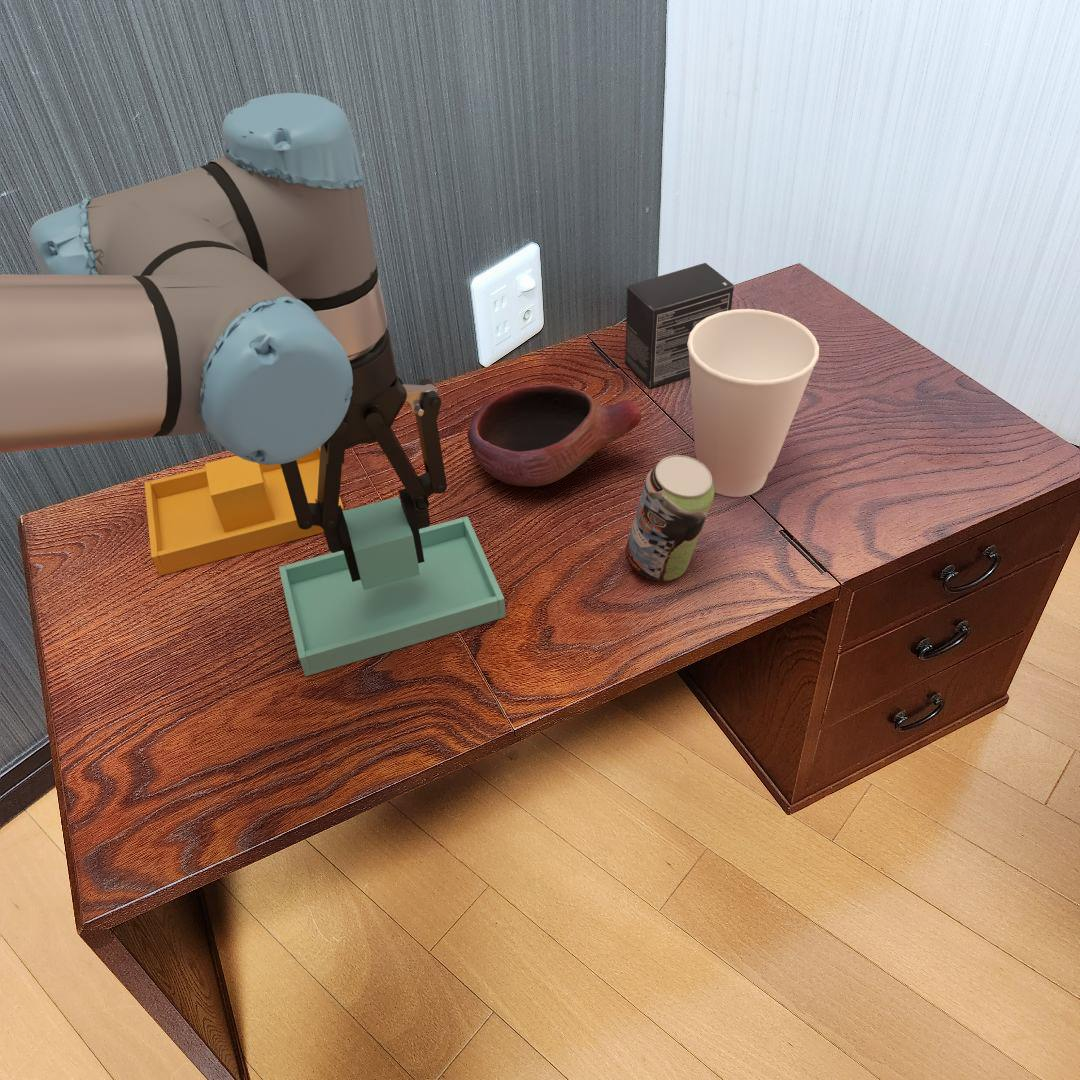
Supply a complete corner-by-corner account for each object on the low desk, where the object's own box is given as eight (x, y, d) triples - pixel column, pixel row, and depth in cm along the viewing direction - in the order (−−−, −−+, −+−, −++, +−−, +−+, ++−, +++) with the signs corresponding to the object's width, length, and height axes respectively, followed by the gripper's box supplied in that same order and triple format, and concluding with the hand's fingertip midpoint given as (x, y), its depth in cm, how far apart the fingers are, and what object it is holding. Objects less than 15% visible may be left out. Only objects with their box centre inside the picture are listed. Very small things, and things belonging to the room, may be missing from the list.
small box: (697, 337, 114) (706, 259, 106) (727, 365, 109) (738, 285, 102) (621, 361, 111) (625, 282, 103) (649, 390, 106) (654, 310, 99)
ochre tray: (160, 576, 89) (151, 557, 87) (152, 500, 96) (144, 482, 94) (348, 526, 92) (343, 507, 91) (326, 457, 100) (322, 439, 98)
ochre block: (224, 532, 92) (210, 495, 88) (218, 500, 95) (204, 463, 91) (275, 519, 93) (263, 482, 89) (267, 487, 96) (255, 450, 92)
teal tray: (305, 676, 80) (298, 658, 78) (284, 585, 87) (278, 566, 85) (506, 617, 84) (504, 598, 82) (470, 534, 91) (467, 515, 89)
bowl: (506, 524, 92) (502, 463, 86) (454, 451, 100) (446, 391, 94) (644, 471, 97) (649, 410, 91) (584, 405, 105) (584, 345, 99)
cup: (810, 464, 97) (841, 333, 85) (757, 530, 90) (784, 398, 79) (709, 423, 102) (726, 295, 90) (652, 484, 95) (663, 353, 84)
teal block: (363, 590, 80) (353, 550, 76) (351, 551, 83) (341, 511, 79) (420, 574, 81) (412, 534, 77) (406, 536, 84) (398, 496, 80)
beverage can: (627, 538, 90) (632, 442, 82) (703, 544, 89) (717, 448, 81) (622, 586, 86) (627, 491, 77) (702, 593, 85) (716, 498, 76)
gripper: (444, 282, 69) (470, 507, 86) (198, 335, 65) (276, 559, 82) (473, 335, 64) (495, 562, 81) (209, 395, 61) (289, 621, 77)
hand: (385, 560), depth 82 cm, fingers closed on teal block, 5 cm apart
